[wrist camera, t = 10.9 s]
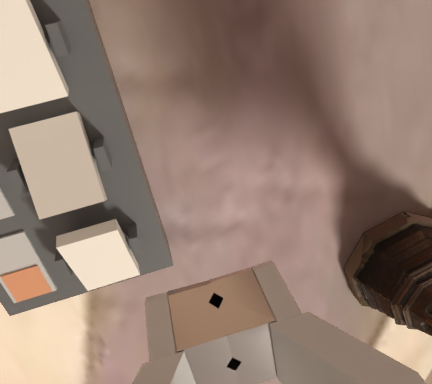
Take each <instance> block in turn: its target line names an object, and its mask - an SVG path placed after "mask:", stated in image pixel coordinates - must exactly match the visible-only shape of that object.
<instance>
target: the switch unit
mask: <svg viewBox="0 0 432 384" xmlns="http://www.w3.org/2000/svg"><path fill="white" fill-rule="evenodd" d="M30 2H31V4H32V6H33V8H34V11H35V13H36V15H37V18H38V20H39V22H40V24H41V27H42V29H43V31H45V33H46V34H47V36H48V38H49V41H50V44H51V47H52V52H53V54H54V56H55V59H56V61H57V63H58V65H59V68H60V70H61V72H62V75H63V77H64V79H65V81H66V84H67V86H68V88H69V92H68V96H67V97H63V98H59V99H55V100H51V101H47V102H43V103H39V104H35V105H31V106H27V107H23V108H19V109H15V110H12V111H8V112H4V113H0V302H1V304H2V305H3V306H4V308H5V309H6V311H7V312H8V314H9V315H10V316H11V315H15V314H18V313H21V312H24V311H28V310H31V309H34V308H37V307H41V306H44V305H47V304H50V303H53V302H57V301H60V300H63V299H66V298H70V297H73V296H76V295H79V294H83V293H86V292H89V291H92V290H89V291H87V289H86V288H85V286H84V285H83V284H82V282H81V281H80V280H79V278H78V277H77V276H76V274H75V273H74V272H73V270H72V269H71V268H70V266H69V265H68V263H67V262H66V261H65V259H64V258H63V257H62V255H61V254H60V253H59V251H58V250H57V249H56V236H58V235H62V234H65V233H69V232H72V231H76V230H79V229H83V228H86V227H89V226H93V225H96V224H100V223H103V222H107V221H110V220H113V219H116V220H117V222H118V224H119V226H120V228H121V230H122V232H123V234H124V236H125V237H127V239H128V241H129V245H130V248H131V250H132V252H133V254H134V256H135V259H136V261H137V263H138V266H139V272H140V275H138V276H141V275H144V274H147V273H150V272H154V271H157V270H160V269H163V268H166V267H170V266H173V262H172V257H171V253H170V248H169V243H168V240H167V237H166V234H165V231H164V228H163V225H162V222H161V219H160V216H159V213H158V210H157V207H156V204H155V201H154V198H153V195H152V192H151V188H150V185H149V182H148V179H147V176H146V173H145V170H144V167H143V164H142V161H141V158H140V155H139V152H138V149H137V146H136V143H135V140H134V137H133V133H132V130H131V127H130V124H129V121H128V118H127V115H126V112H125V109H124V106H123V103H122V100H121V97H120V94H119V91H118V88H117V85H116V82H115V78H114V75H113V72H112V69H111V66H110V63H109V60H108V57H107V54H106V51H105V48H104V45H103V42H102V39H101V36H100V33H99V30H98V27H97V23H96V20H95V17H94V14H93V11H92V8H91V5H90V2H89V0H30ZM72 112H78V113H80V115H81V118H82V121H83V124H84V128H85V131H86V134H87V137H88V140H89V143H90V147H91V149H92V151H93V152H94V155H95V158H96V163H97V164H96V166H97V169H98V172H99V175H100V178H101V181H102V185H103V188H104V191H105V194H106V197H107V200H106V201H103V202H100V203H96V204H93V205H89V206H86V207H82V208H79V209H75V210H72V211H68V212H65V213H61V214H58V215H54V216H51V217H47V218H44V219H40V220H39V217H38V215H37V212H36V209H35V206H34V203H33V200H32V197H31V194H30V191H29V188H28V185H27V182H26V179H25V176H24V173H23V171H22V168H21V165H20V162H19V159H18V156H17V153H16V150H15V147H14V144H13V141H12V138H11V135H10V132H9V129H10V128H14V127H18V126H22V125H26V124H30V123H34V122H38V121H41V120H45V119H49V118H53V117H57V116H61V115H65V114H69V113H72ZM135 277H137V276H135ZM131 278H134V277H131ZM131 278H128V279H131ZM128 279H125V280H128ZM122 281H124V280H122ZM118 282H121V281H118ZM118 282H115V283H118ZM115 283H112V284H115ZM112 284H109V285H112ZM105 286H108V285H105ZM105 286H102V287H105ZM102 287H99V288H102ZM99 288H96V289H99ZM93 290H95V289H93Z"/></svg>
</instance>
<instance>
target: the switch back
mask: <svg viewBox="0 0 432 384" xmlns="http://www.w3.org/2000/svg"><path fill="white" fill-rule="evenodd" d="M56 249H57V250H58V251H59V253H60V254H61V255H62V257H63V258H64V259H65V261H66V262H67V263H68V265H69V266H70V268H71V269H72V270H73V272H74V273H75V274H76V276H77V277H78V278H79V280H80V281H81V282H82V284H83V285H84V286H85V288H86V289H87V291H89V290H93V289H96V288H99V287H102V286H105V285H109V284H112V283H115V282H118V281H122V280H125V279H128V278H131V277H135V276H138V275H140V272H139V266H138V263H137V261H136V259H135V256H134V254H133V252H132V250H131V248H130V245H129V241H128V239H127V237H125V236H124V234H123V232H122V230H121V228H120V226H119V224H118V222H117V220H116V219H113V220H110V221H107V222H103V223H100V224H96V225H93V226H89V227H86V228H83V229H79V230H76V231H72V232H69V233H65V234H62V235H58V236H56Z"/></svg>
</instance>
